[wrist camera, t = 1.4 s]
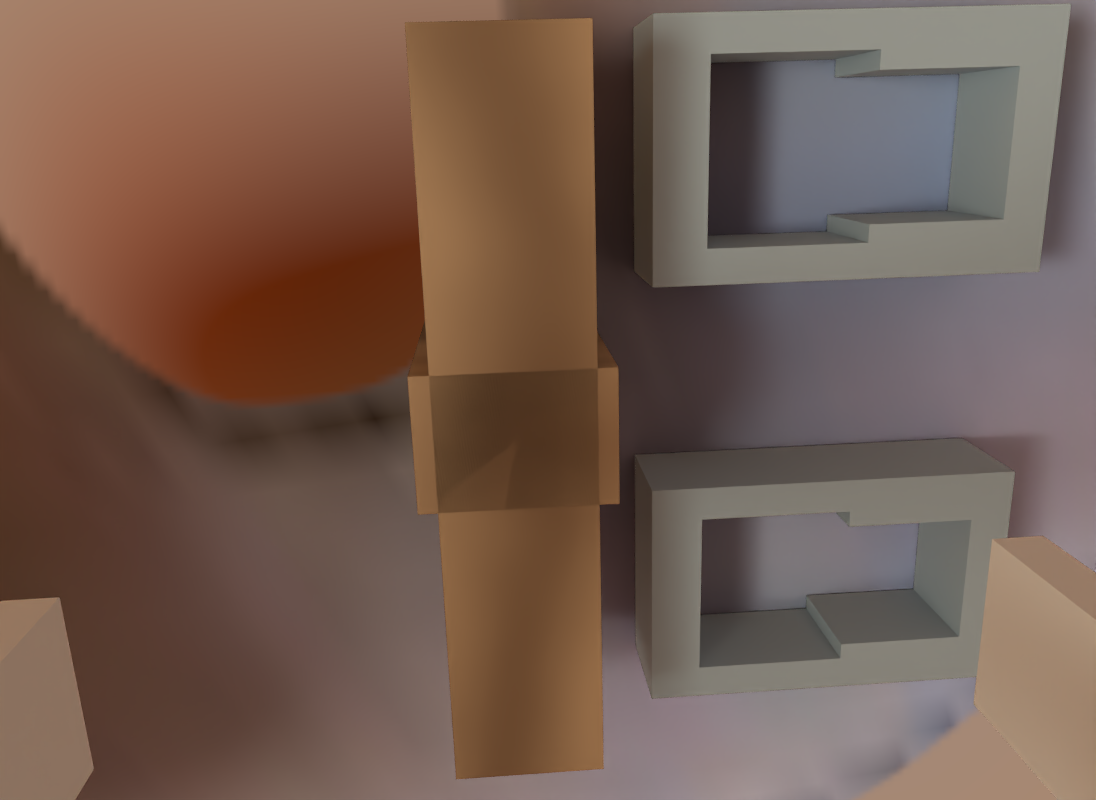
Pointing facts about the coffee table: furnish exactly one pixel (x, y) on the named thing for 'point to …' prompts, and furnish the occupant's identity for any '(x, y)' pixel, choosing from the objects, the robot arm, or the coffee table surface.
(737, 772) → the coffee table surface
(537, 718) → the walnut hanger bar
